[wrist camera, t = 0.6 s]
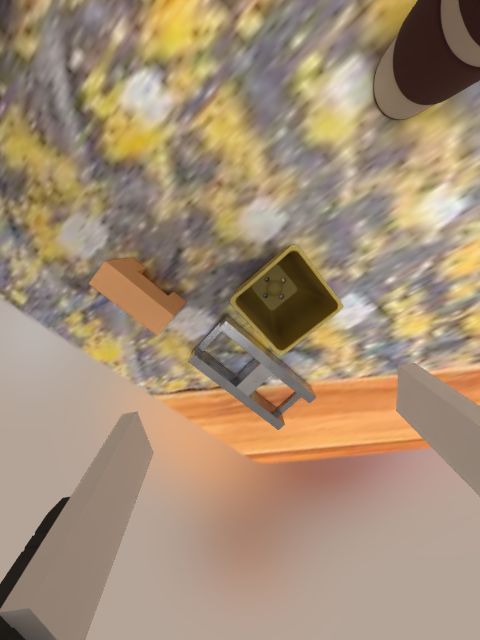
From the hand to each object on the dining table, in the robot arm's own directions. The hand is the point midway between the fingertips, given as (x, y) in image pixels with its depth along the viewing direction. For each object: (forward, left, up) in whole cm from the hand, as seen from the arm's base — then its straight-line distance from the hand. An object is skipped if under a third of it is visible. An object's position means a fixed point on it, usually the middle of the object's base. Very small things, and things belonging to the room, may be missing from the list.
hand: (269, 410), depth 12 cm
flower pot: (+1, +4, -23) cm, 23 cm away
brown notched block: (-11, -7, -23) cm, 26 cm away
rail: (+8, -7, -23) cm, 25 cm away
